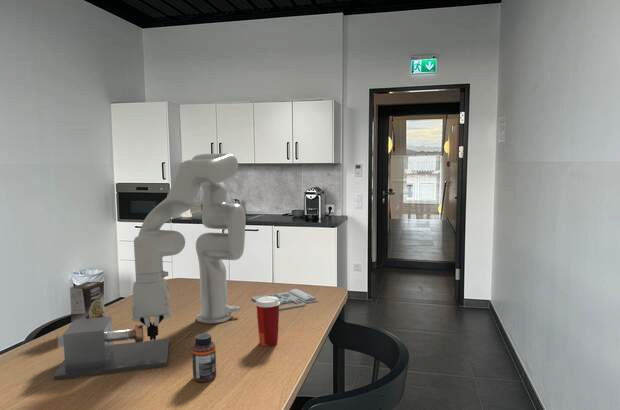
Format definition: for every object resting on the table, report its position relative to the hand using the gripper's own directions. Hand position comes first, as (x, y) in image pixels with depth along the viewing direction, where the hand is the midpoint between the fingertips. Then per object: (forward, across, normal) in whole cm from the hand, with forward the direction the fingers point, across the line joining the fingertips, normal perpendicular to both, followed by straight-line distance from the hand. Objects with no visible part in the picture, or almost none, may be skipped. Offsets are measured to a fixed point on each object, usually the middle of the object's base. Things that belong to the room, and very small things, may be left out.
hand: (153, 338), depth 129 cm
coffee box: (+6, +22, -28) cm, 37 cm away
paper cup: (+6, -34, +2) cm, 34 cm away
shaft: (+1, +14, 0) cm, 14 cm away
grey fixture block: (+5, +10, 0) cm, 11 cm away
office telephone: (+7, -50, -39) cm, 64 cm away
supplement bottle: (+5, -13, +20) cm, 24 cm away
